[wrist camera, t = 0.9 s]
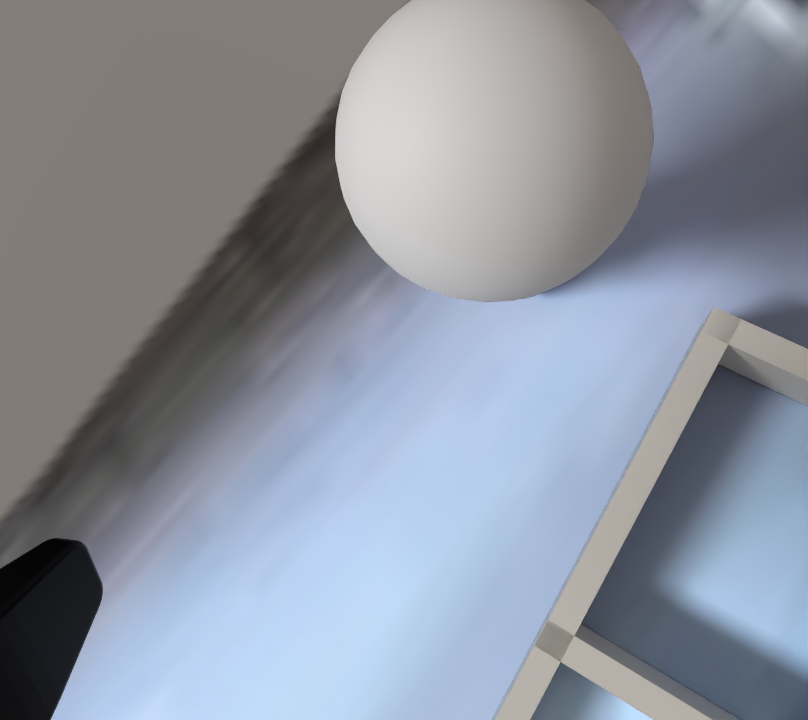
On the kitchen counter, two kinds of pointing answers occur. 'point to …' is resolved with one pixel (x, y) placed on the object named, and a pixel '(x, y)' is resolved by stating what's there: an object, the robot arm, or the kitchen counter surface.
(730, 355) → the socket board
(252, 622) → the kitchen counter surface
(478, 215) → the lightbulb
